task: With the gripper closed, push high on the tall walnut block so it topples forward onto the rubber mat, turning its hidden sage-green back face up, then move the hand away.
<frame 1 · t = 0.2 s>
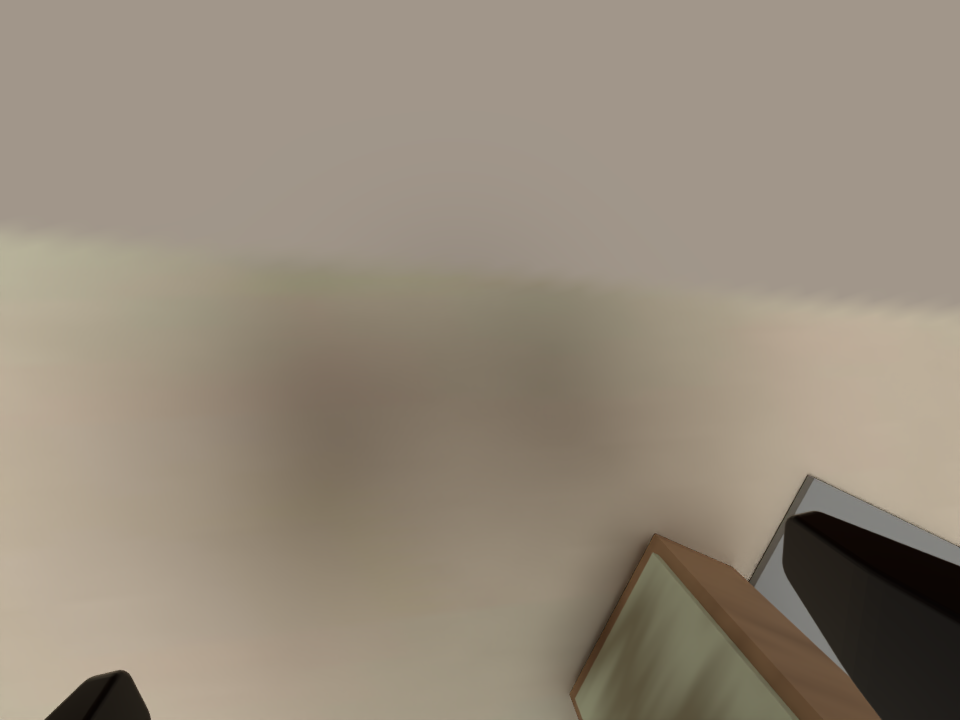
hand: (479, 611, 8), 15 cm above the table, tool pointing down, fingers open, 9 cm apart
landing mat: (852, 712, 27), on the table
walnut block: (651, 630, 26), on the table
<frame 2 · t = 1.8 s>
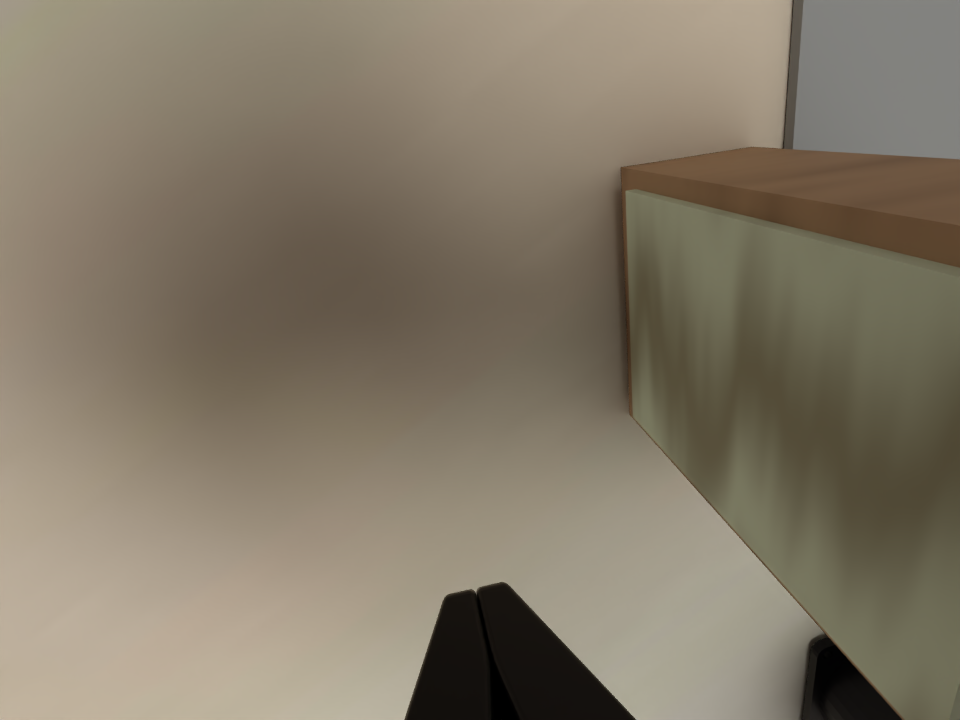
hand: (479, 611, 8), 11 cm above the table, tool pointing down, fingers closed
walnut block: (686, 290, 19), on the table
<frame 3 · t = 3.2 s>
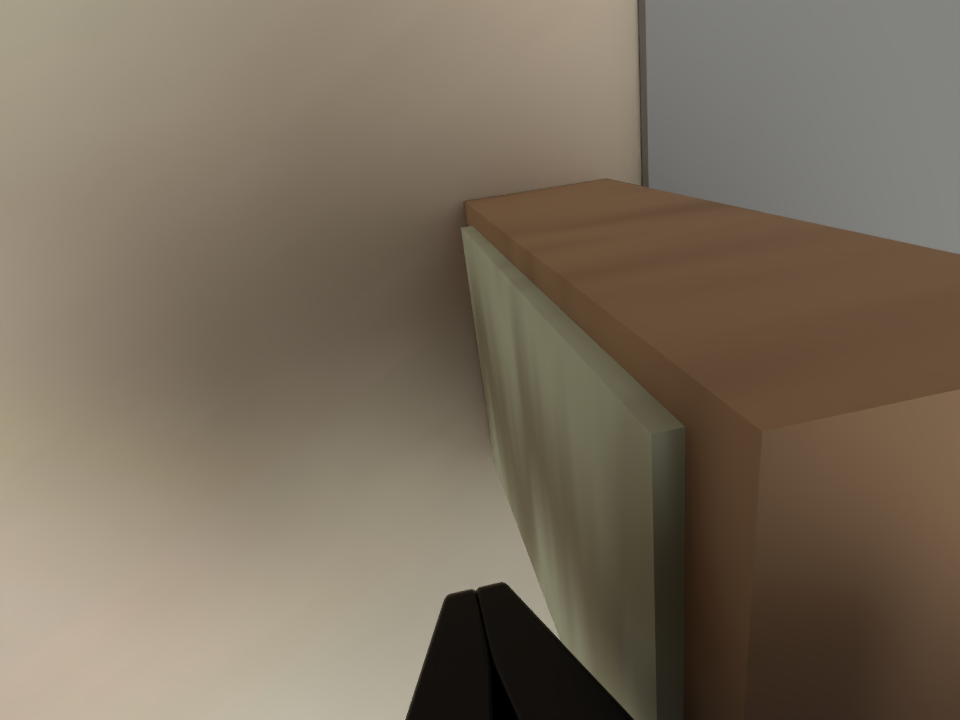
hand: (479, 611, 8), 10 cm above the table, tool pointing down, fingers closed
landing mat: (886, 267, 19), on the table
walnut block: (548, 328, 17), on the table, touching gripper
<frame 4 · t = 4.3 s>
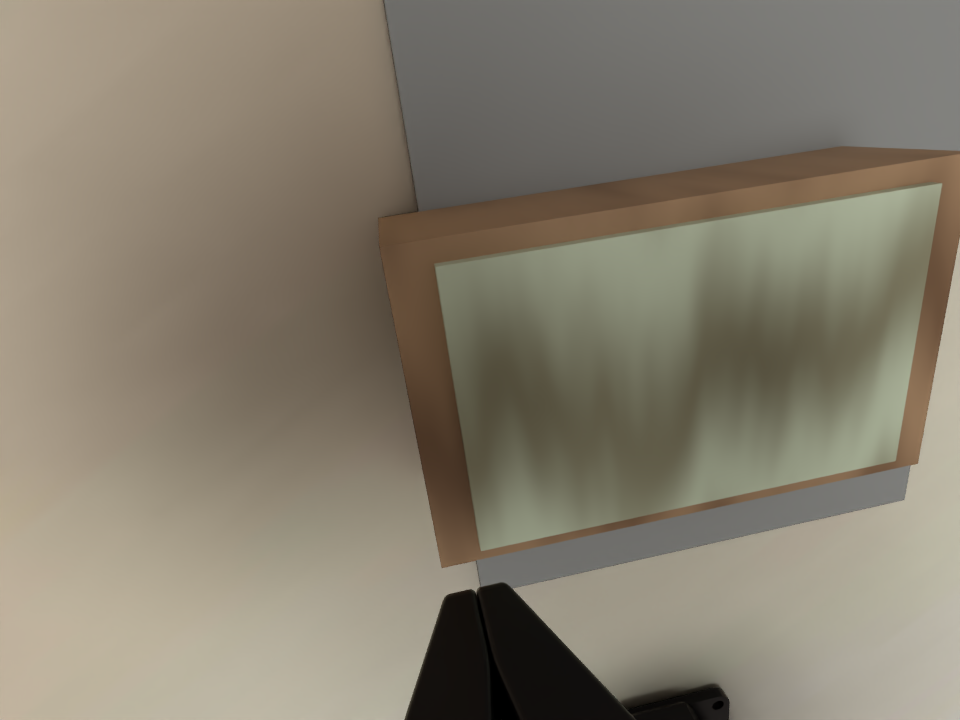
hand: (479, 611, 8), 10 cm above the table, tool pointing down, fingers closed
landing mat: (699, 302, 18), on the table
walnut block: (409, 389, 15), point 2 cm above the table, tilted 90°, touching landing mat
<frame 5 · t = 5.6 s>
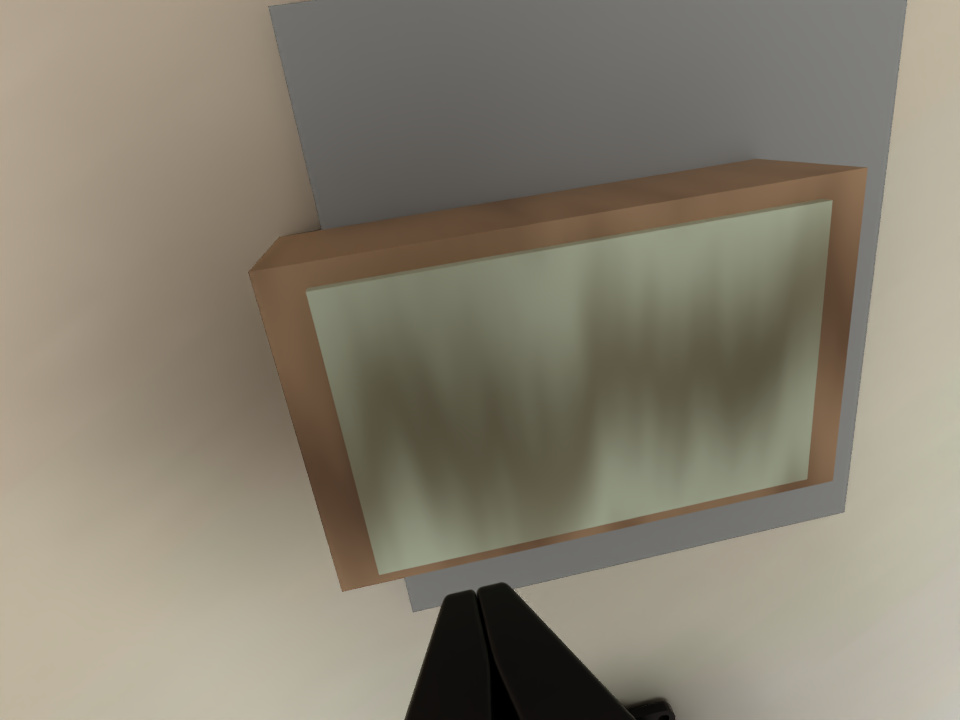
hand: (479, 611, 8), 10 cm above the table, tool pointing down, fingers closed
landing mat: (621, 316, 18), on the table
walnut block: (310, 410, 15), point 2 cm above the table, tilted 90°, touching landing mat
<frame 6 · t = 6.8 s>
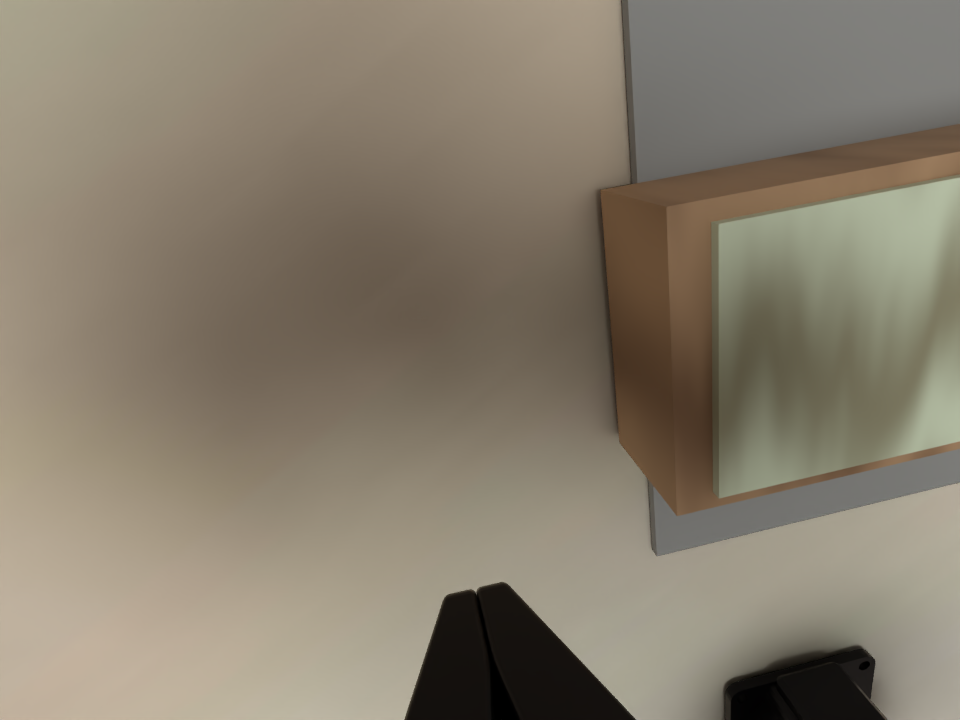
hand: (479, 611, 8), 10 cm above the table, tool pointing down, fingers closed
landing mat: (878, 267, 19), on the table
walnut block: (637, 349, 16), point 2 cm above the table, tilted 90°, touching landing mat
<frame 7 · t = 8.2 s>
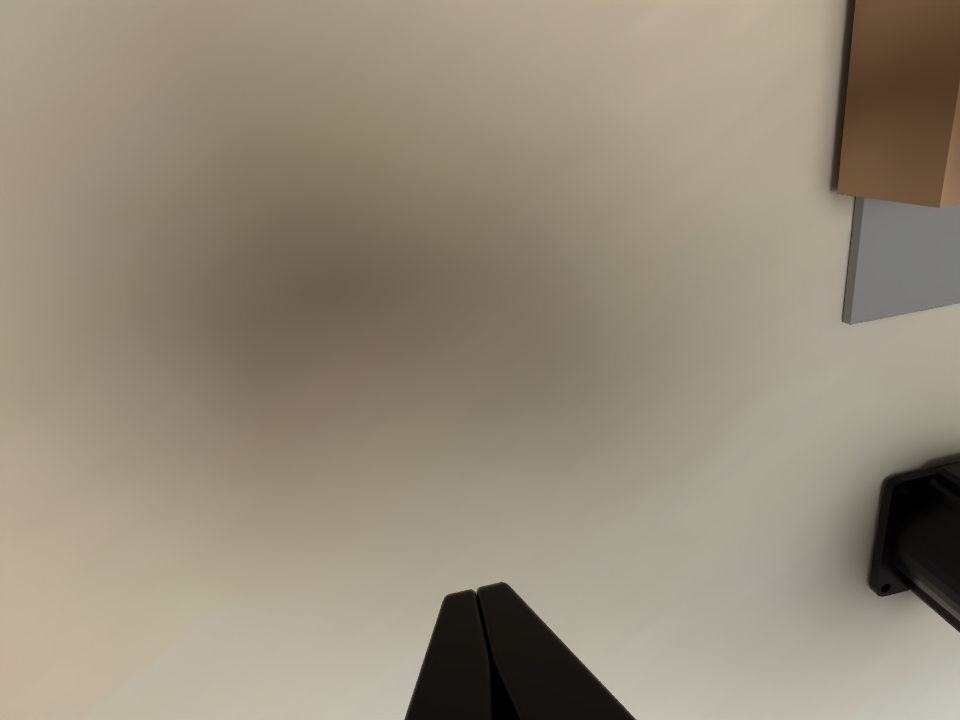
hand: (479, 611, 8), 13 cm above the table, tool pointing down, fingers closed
walnut block: (900, 58, 17), point 2 cm above the table, tilted 90°, touching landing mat
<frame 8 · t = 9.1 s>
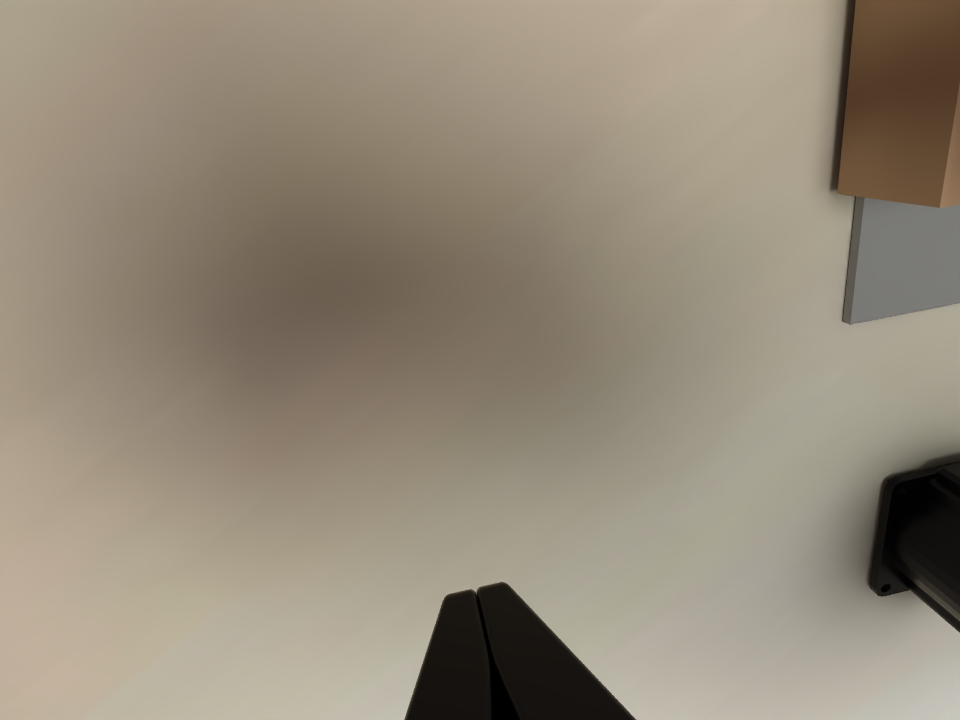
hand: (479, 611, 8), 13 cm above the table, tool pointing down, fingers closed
walnut block: (901, 58, 17), point 2 cm above the table, tilted 90°, touching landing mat
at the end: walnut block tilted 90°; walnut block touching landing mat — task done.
